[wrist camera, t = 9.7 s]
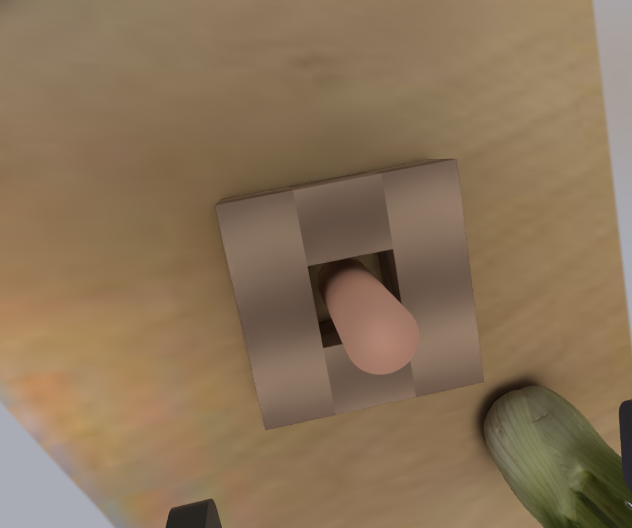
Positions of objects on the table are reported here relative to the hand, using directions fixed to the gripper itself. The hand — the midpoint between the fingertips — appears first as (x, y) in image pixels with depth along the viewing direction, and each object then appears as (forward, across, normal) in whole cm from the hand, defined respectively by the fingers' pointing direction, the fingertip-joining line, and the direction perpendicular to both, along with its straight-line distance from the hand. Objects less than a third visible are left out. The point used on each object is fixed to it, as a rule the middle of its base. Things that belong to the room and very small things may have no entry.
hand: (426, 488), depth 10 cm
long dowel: (+20, -2, +1) cm, 20 cm away
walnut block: (+20, -2, +1) cm, 21 cm away
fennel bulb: (+20, -11, +12) cm, 26 cm away
